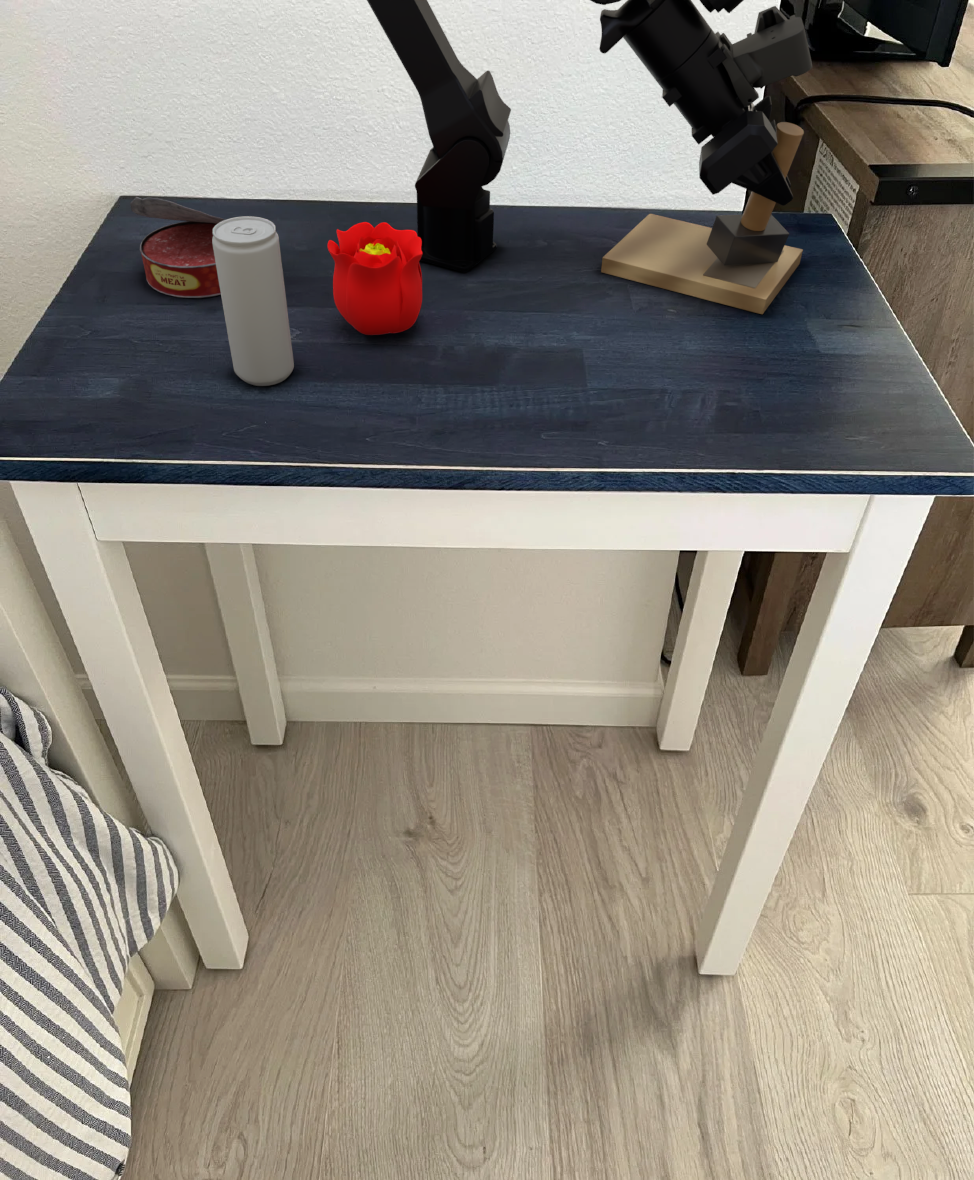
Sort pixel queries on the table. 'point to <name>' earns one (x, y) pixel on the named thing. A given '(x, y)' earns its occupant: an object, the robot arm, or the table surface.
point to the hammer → (756, 216)
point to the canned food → (179, 250)
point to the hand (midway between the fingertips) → (787, 196)
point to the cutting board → (696, 265)
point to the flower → (377, 277)
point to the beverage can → (254, 299)
